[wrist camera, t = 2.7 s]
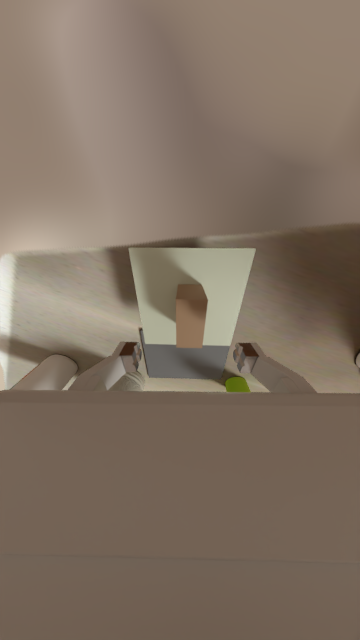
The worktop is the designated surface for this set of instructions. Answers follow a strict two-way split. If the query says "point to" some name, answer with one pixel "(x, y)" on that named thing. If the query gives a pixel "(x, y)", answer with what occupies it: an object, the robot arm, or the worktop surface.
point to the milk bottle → (49, 374)
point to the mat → (185, 361)
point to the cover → (190, 293)
